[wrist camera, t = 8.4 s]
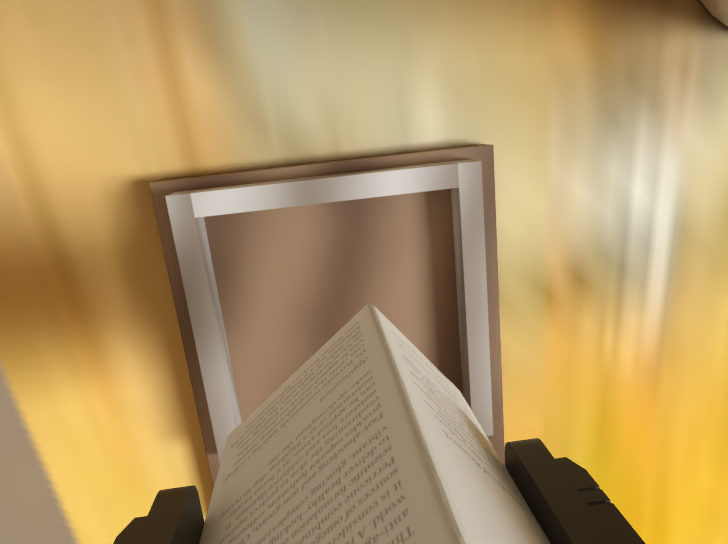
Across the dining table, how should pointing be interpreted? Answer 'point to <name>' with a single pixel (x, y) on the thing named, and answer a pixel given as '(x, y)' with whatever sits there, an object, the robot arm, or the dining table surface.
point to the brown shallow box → (333, 273)
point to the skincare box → (365, 456)
